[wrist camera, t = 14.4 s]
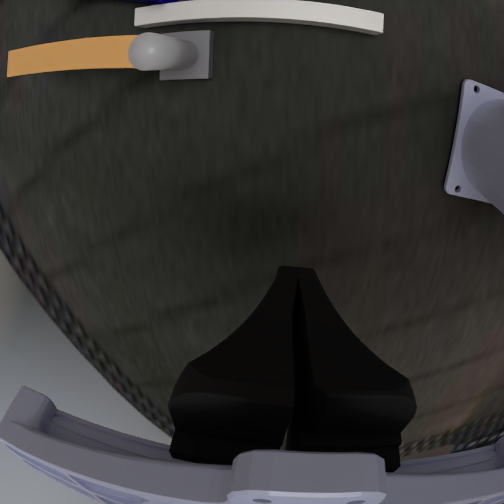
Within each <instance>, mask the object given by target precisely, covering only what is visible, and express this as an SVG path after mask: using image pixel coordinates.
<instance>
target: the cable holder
mask: <svg viewBox="0 0 504 504" xmlns="http://www.w3.org/2000/svg"><path fill="white" fill-rule="evenodd" d="M120 1H131V2H140V3H148V4H156V5H159V4H166V3H174V2H178V0H120Z"/></svg>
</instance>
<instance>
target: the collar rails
mask: <svg viewBox="0 0 504 504" xmlns="http://www.w3.org/2000/svg"><path fill="white" fill-rule="evenodd" d="M383 18H384V14H382V13H378V12H373V11H368V10H363V9H358V8H352V7H346V6H340V5H333V4H326V3H318V2H309V1H298V0H194V1H184V2H174V3H166V4H159V5H152V6H146V7H140V8H135V25H134V26H137V27H142V28H150V27H157V26H165V25H175V24H186V23H200V22H224V21H256V22H280V23H294V24H305V25H315V26H323V27H331V28H338V29H344V30H350V31H356V32H361V33H367V34H372V35H378V34H381V33H383ZM161 35H165V36H169V37H173V38H178V39H182V40H185V41H189V42H192V43H193V44H194V45H195V46H196V47H197V49H198V58H197V61H196V62H195V64H194V65H193V66H191V67H190V68H188V69H176V70H160V80H174V79H204V78H212V75H213V44H214V32H213V31H211V30H203V31H187V32H175V33H165V34H161Z"/></svg>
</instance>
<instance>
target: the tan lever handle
mask: <svg viewBox="0 0 504 504" xmlns="http://www.w3.org/2000/svg"><path fill="white" fill-rule="evenodd" d="M197 58H198V49H197V47H196V46H195V45H194V44H193V43H192V42H189V41H185V40H182V39H178V38H173V37H169V36H165V35H161V34H156V33H151V32H147V33H143V34H140V35H123V36H106V37H94V38H84V39H75V40H67V41H60V42H53V43H47V44H42V45H36V46H31V47H26V48H21V49H17V50H12V51H9V55H8V68H7V77H11V76H17V75H24V74H31V73H40V72H49V71H60V70H73V69H92V68H136V69H139V70H176V69H188V68H190V67H191V66H193V65H194V64H195V62H196V61H197Z"/></svg>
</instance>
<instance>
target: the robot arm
mask: <svg viewBox="0 0 504 504" xmlns="http://www.w3.org/2000/svg"><path fill="white" fill-rule="evenodd" d="M474 86H476V87H477V91H476V92H474ZM457 185H459V188H458V189H457V190H455V187H456V186H457ZM444 189H445V191H446V192H447V193H448V194H451V195H455V196H460V197H465V198H470V199H474V200H479V201H483V202H487V203H491V204H493V205H494V206H495V207H496V208H497V209H498V210H499V211H500V212H502V213H503V214H504V93H503V92H500V91H498V90H496V89H493V88H491V87H488V86H486V85H483V84H481V83H478V82H476V81H473V80H469V79H466V80H464V81H463V83H462V89H461V98H460V105H459V112H458V118H457V125H456V131H455V136H454V142H453V147H452V152H451V157H450V161H449V166H448V170H447V175H446V179H445V183H444ZM168 407H169V413H170V416H171V419H172V422H173V424H174V427H175V432H174V435H173V439H172V442H171V445H166V444H162V443H158V442H154V441H150V440H146V439H143V438H139V437H135V436H132V435H128V434H125V433H122V432H118V431H115V430H112V429H109V428H106V427H103V426H100V425H97V424H94V423H92V422H89V421H86V420H83V419H81V418H78V417H75V416H72V415H70V414H68V413H65V412H63V411H60V410H58V409H56V407H55V405H54V403H53V402H52V401H51V400H50V399H49V398H48V397H47V396H45V395H43V394H41V393H39V392H37V391H35V390H32V389H30V388H28V387H26V386H22V387H21V388H20V390H19V392H18V394H17V395H16V397H15V398H14V400H13V402H12V403H11V405H10V407H9V409H8V410H7V412H6V414H5V416H4V417H3V419H2V421H1V423H0V442H1V443H3V445H5V446H6V447H7V448H8V449H9V450H10V451H12V453H14V454H15V455H16V456H17V457H19V458H20V459H21V460H22V461H23V462H24V463H26V464H27V465H28V466H30V467H32V468H34V469H36V470H37V471H39V472H41V473H43V474H44V475H46V476H48V477H50V478H52V479H54V480H56V481H58V482H60V483H62V484H64V485H66V486H67V487H69V488H71V489H74V490H76V491H78V492H80V493H82V494H84V495H86V496H88V497H91V498H93V499H95V500H98V501H100V502H102V503H104V504H501V503H503V502H504V436H503V437H501V438H500V439H499V440H498V441H497V442H496V443H495V444H494V445H490V446H486V447H482V448H477V449H473V450H468V451H463V452H458V453H453V454H447V455H442V456H435V457H429V458H421V459H414V460H404V461H400V455H399V447H398V446H400V445H401V442H402V440H401V432H402V430H403V429H404V428H405V427H406V426H407V424H408V423H409V422H410V421H411V420H412V418H413V417H414V415H415V413H416V409H417V405H416V401H415V396H414V393H413V390H412V387H411V385H410V382H409V379H408V378H406V377H405V376H403V375H402V374H400V373H399V372H397V371H396V370H394V369H393V368H391V367H390V366H389V365H387V364H386V363H385V362H383V361H382V360H381V359H380V358H379V357H377V356H376V355H375V354H374V353H373V352H372V351H370V350H369V349H368V348H367V347H366V346H365V345H364V344H363V343H362V342H361V341H360V340H359V339H358V338H357V337H356V336H355V335H354V333H353V332H352V331H351V330H350V329H349V327H348V326H347V325H346V324H345V322H344V321H343V319H342V318H341V317H340V315H339V314H338V312H337V311H336V309H335V308H334V306H333V305H332V303H331V301H330V300H329V298H328V296H327V295H326V293H325V291H324V289H323V287H322V285H321V283H320V281H319V279H318V277H317V275H316V273H315V271H314V270H313V269H311V268H301V267H291V266H280V267H279V268H278V272H277V275H276V277H275V280H274V282H273V284H272V285H271V287H270V289H269V290H268V292H267V294H266V295H265V297H264V298H263V300H262V301H261V302H260V304H259V305H258V306H257V308H256V309H255V310H254V311H253V313H252V314H251V315H250V316H249V317H248V318H247V319H246V321H245V322H244V323H243V324H242V325H241V326H240V327H238V328H237V329H236V330H235V331H234V332H233V333H232V334H231V335H230V336H229V337H227V338H226V339H225V340H223V341H222V342H221V343H219V344H218V345H217V346H215V347H214V348H213V349H211V350H210V351H208V352H207V353H205V354H203V355H201V356H200V357H198V358H196V359H195V360H193V361H191V362H189V363H188V364H187V366H186V367H185V369H184V370H183V372H182V373H181V375H180V377H179V379H178V381H177V383H176V384H175V387H174V389H173V392H172V395H171V398H170V401H169V404H168ZM287 427H288V429H287ZM286 430H287V438H286V447H285V450H280V447H281V446H282V443H283V440H284V437H285V433H286Z"/></svg>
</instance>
